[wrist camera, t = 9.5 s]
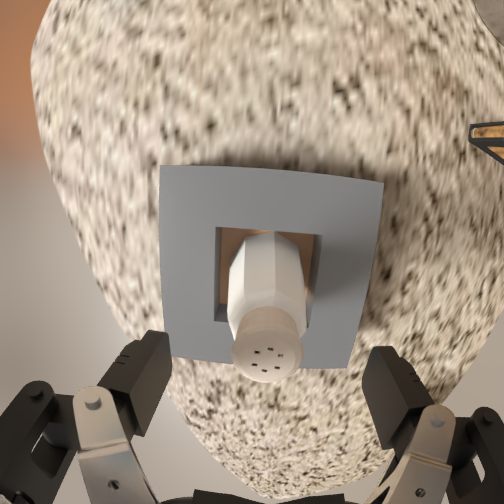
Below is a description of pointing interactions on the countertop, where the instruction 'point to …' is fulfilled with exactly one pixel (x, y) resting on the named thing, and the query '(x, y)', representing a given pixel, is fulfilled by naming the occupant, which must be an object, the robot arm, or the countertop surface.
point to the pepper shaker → (267, 307)
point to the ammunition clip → (489, 138)
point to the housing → (256, 222)
